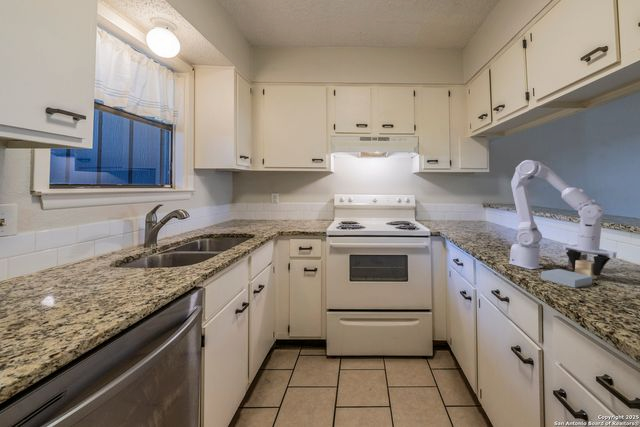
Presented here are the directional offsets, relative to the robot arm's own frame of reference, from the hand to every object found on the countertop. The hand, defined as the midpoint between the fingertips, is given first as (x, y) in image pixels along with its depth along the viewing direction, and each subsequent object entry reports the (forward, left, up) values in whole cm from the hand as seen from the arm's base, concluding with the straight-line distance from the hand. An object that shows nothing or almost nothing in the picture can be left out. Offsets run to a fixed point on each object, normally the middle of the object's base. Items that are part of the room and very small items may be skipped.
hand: (585, 272), depth 100 cm
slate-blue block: (0, -12, -2) cm, 12 cm away
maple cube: (0, 0, -2) cm, 2 cm away
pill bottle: (-7, +9, -2) cm, 12 cm away
